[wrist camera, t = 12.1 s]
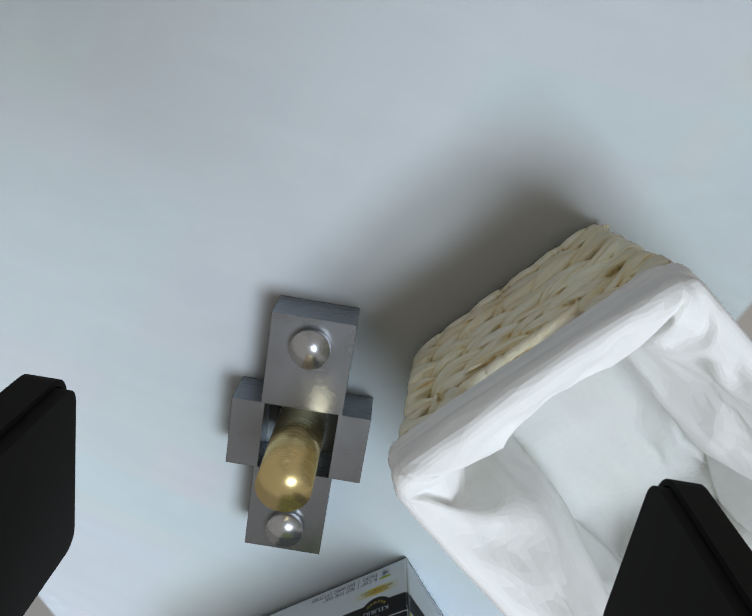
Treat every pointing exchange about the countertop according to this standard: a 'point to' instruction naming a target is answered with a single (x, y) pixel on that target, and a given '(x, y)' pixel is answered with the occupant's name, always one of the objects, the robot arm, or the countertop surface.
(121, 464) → the countertop surface
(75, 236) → the countertop surface
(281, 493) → the brass pin
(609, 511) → the storage basket
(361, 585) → the tea box
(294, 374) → the grey metal bracket
